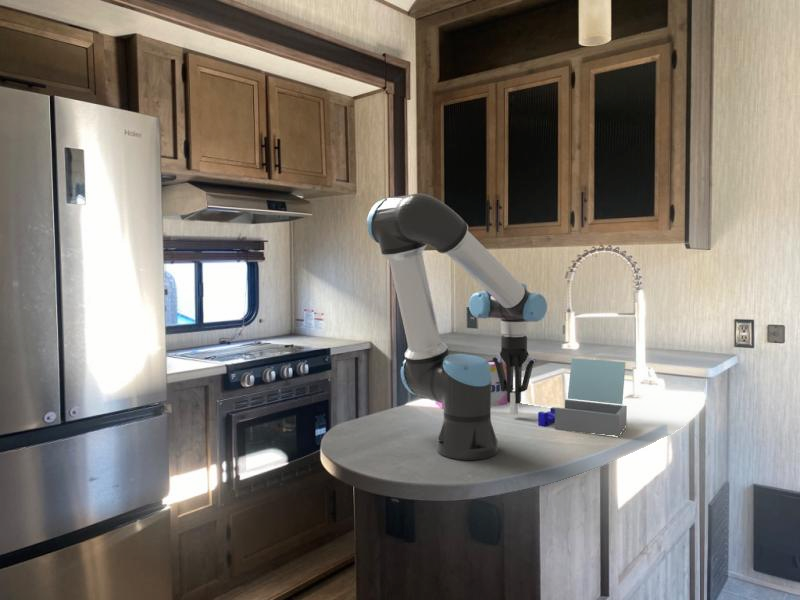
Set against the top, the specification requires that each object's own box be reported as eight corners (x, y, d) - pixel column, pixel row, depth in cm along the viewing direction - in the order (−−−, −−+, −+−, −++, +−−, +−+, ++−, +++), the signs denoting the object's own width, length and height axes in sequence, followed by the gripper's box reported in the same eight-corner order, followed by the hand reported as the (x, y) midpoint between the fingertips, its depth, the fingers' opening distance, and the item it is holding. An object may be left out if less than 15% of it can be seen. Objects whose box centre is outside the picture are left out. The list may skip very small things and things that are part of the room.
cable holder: (548, 419, 179) (548, 406, 178) (559, 421, 176) (559, 408, 176) (533, 425, 173) (533, 411, 173) (544, 427, 171) (544, 413, 170)
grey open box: (618, 437, 159) (618, 415, 159) (554, 429, 168) (554, 408, 167) (626, 426, 169) (626, 405, 169) (565, 419, 178) (565, 399, 177)
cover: (625, 362, 173) (625, 362, 173) (571, 358, 180) (572, 358, 181) (621, 404, 170) (622, 404, 171) (567, 398, 178) (568, 398, 178)
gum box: (438, 409, 191) (437, 367, 190) (430, 404, 199) (430, 363, 198) (508, 404, 197) (508, 363, 196) (498, 399, 205) (498, 359, 204)
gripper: (539, 334, 178) (539, 413, 180) (497, 332, 184) (497, 408, 186) (531, 337, 172) (531, 419, 173) (488, 335, 178) (488, 414, 180)
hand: (514, 413), depth 180 cm, fingers closed
